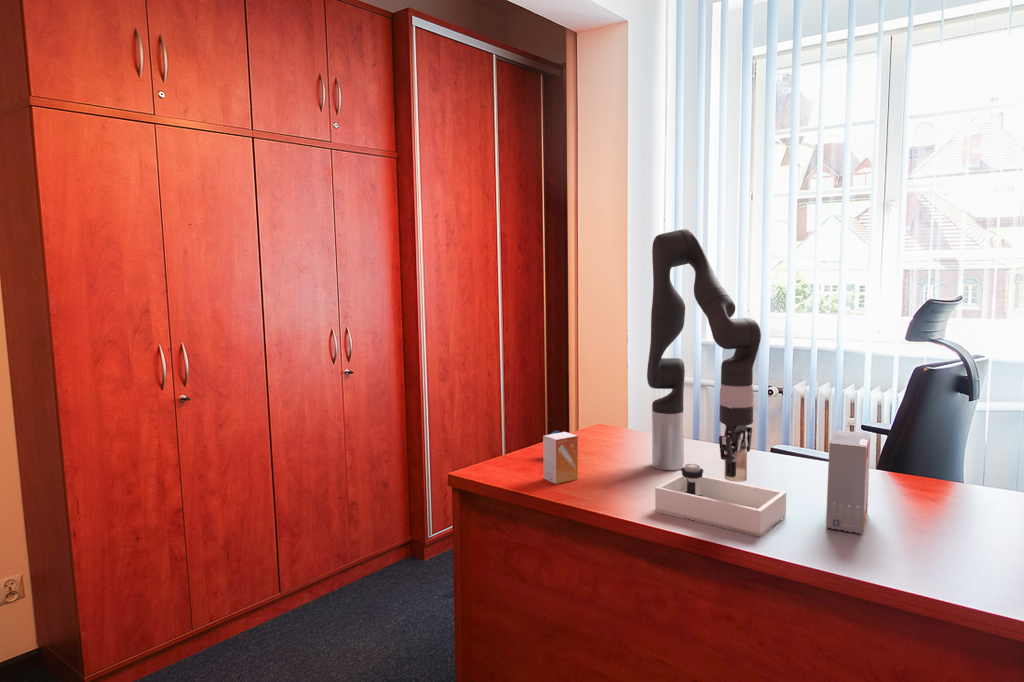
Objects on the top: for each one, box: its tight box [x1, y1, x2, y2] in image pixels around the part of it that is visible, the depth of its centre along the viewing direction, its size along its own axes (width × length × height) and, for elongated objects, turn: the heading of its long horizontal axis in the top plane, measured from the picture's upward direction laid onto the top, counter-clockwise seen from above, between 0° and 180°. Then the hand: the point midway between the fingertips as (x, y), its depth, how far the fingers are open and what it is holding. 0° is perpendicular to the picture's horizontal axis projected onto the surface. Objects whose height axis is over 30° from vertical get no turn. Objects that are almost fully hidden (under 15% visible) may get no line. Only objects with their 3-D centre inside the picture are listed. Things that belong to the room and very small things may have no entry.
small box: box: [542, 431, 579, 485], centre depth 187 cm, size 8×6×13 cm
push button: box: [680, 463, 704, 497], centre depth 161 cm, size 7×5×10 cm
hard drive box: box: [825, 429, 872, 534], centre depth 150 cm, size 16×8×20 cm, turn 148°
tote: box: [654, 473, 787, 538], centre depth 157 cm, size 16×26×6 cm, turn 48°
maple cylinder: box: [723, 446, 748, 483], centre depth 154 cm, size 5×5×7 cm
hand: (735, 473), depth 154 cm, fingers closed on maple cylinder, 5 cm apart
